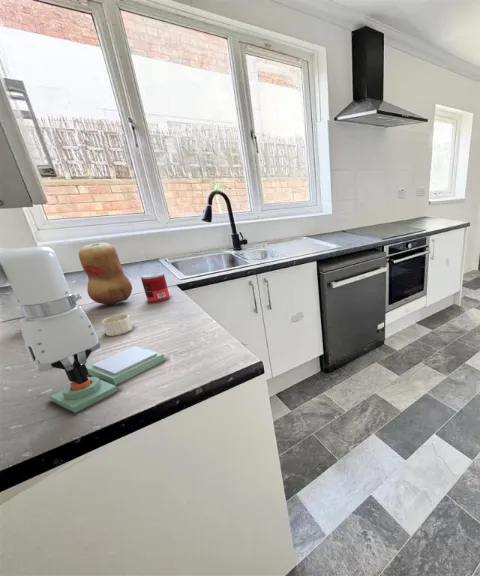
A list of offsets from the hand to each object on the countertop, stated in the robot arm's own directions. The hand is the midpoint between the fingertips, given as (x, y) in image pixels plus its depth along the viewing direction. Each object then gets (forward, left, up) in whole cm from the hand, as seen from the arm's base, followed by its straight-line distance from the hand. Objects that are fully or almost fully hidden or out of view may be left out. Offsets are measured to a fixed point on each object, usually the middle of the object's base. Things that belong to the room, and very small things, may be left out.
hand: (80, 380), depth 70 cm
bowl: (+23, +31, -4) cm, 39 cm away
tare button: (0, 0, -2) cm, 2 cm away
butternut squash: (+37, +61, -4) cm, 72 cm away
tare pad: (0, 0, -4) cm, 4 cm away
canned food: (+47, +49, -4) cm, 68 cm away
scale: (+11, +4, -4) cm, 12 cm away
